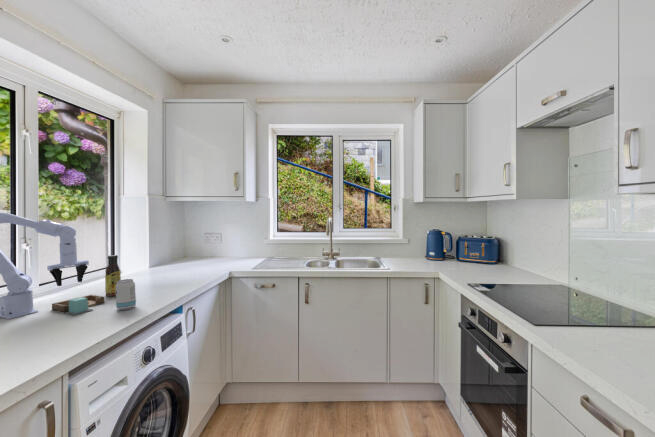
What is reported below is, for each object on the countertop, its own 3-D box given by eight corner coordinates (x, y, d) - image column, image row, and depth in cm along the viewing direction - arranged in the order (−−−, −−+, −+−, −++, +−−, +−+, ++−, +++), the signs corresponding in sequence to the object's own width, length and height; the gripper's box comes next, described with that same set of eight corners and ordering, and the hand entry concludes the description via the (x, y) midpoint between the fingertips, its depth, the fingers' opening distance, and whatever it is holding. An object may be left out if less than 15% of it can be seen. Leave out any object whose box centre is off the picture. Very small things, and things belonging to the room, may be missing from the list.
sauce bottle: (113, 297, 149) (111, 256, 148) (102, 296, 150) (100, 256, 149) (124, 293, 155) (122, 254, 155) (114, 293, 156) (112, 254, 156)
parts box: (64, 313, 126) (64, 306, 126) (52, 310, 131) (51, 303, 131) (104, 302, 140) (104, 296, 140) (91, 300, 144) (91, 294, 144)
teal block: (75, 313, 125) (74, 301, 124) (69, 312, 126) (68, 300, 126) (87, 309, 129) (87, 298, 128) (81, 308, 130) (81, 297, 130)
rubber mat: (73, 315, 123) (73, 314, 123) (64, 313, 126) (64, 312, 126) (93, 310, 129) (93, 309, 129) (83, 308, 132) (83, 307, 132)
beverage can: (119, 307, 133) (117, 279, 132) (137, 305, 135) (136, 278, 135) (114, 312, 126) (113, 283, 126) (133, 309, 129) (132, 281, 128)
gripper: (52, 256, 127) (54, 288, 128) (92, 251, 141) (93, 280, 141) (44, 255, 130) (45, 287, 131) (83, 250, 144) (84, 279, 144)
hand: (69, 283), depth 136 cm, fingers open, 7 cm apart
